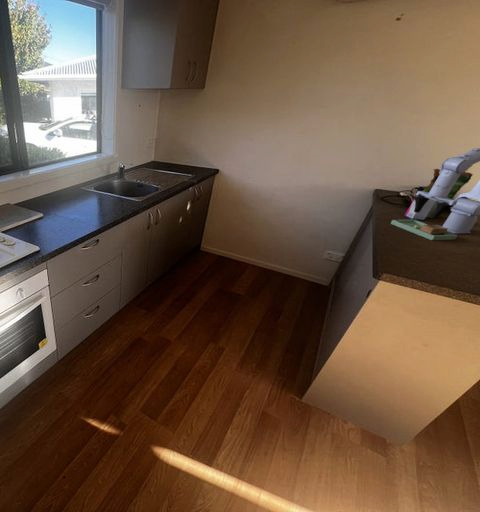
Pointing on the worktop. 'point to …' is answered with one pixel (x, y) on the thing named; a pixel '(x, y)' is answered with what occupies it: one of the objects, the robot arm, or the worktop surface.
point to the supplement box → (422, 213)
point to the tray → (410, 225)
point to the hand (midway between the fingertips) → (425, 215)
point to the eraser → (434, 229)
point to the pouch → (457, 186)
